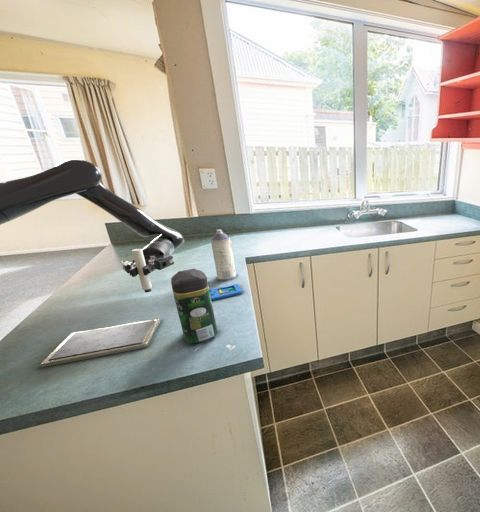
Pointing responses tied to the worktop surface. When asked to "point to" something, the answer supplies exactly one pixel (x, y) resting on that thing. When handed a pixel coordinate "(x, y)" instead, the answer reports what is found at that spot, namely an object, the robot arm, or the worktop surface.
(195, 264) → the worktop surface
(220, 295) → the handheld gaming device
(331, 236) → the worktop surface
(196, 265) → the worktop surface
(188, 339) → the coffee jar
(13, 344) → the worktop surface
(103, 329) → the chalkboard
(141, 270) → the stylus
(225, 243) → the aerosol can
